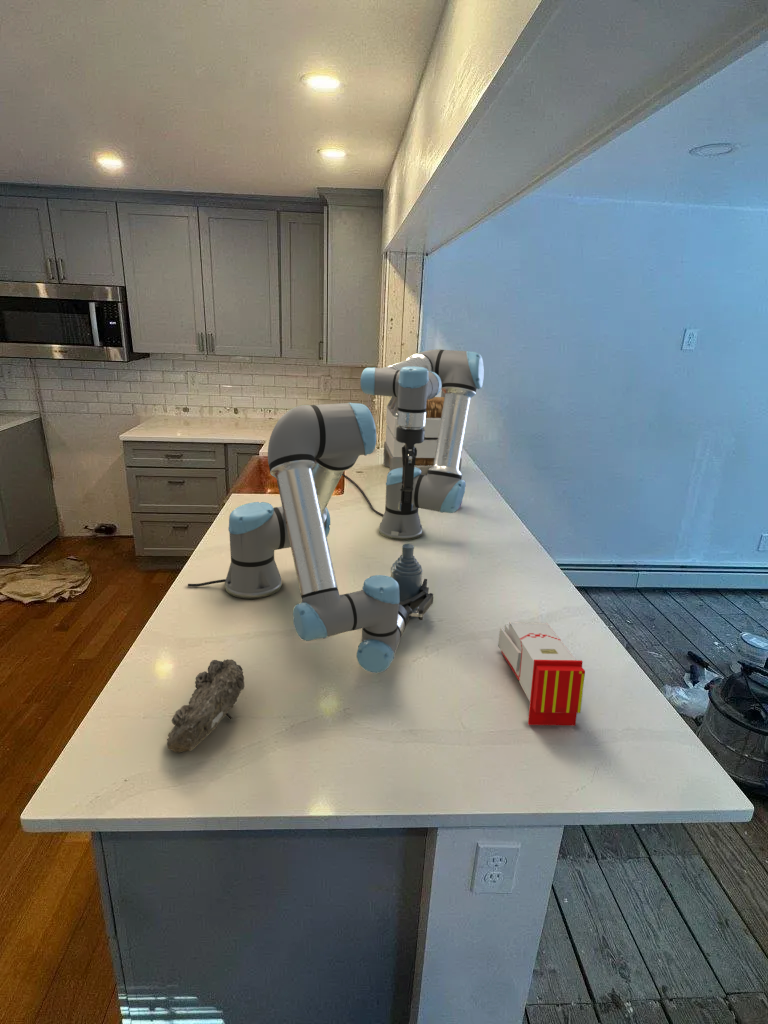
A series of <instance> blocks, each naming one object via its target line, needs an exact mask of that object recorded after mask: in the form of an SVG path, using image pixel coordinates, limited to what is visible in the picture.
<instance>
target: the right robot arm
mask: <svg viewBox="0 0 768 1024" xmlns="http://www.w3.org/2000/svg"><path fill="white" fill-rule="evenodd" d="M484 369H485V368H484V360H483V356H482V355H481V353H479V352H476V351H469V350H452V349H440V348H439V349H437V348H435V349H429V350H423V351H421V352H417V353H414V354H411V355H410V356H408V357H407V358H406V360H402V361H399V362H396V363H393V364H391V365H388V366H383V367H376V366H375V367H374V366H373V367H366V368H364V369H363V370H362V372H361V375H360V389H361V391H362V392H363V393H364V394H365V395H372V396H381V397H390V398H392V397H398V414H395V417H398V418H397V425H398V427H397V428H396V440H397V441H398V442H400V443H405V445H404V446H403V447H402V462H403V463H402V464H403V468H397V469H393V470H391V471H390V470H389V472H388V473H387V475H386V482H385V504H384V505H385V507H384V508H385V509H384V513H381V512H379V511H378V510H376V509H375V508H374V507H373V505H372V503H371V501H370V500H369V498H368V496H367V495H366V494H365V492H364V491H363V489H362V488H361V487H360V486H359V485H358V484H357V483H356V482H355V481H354V480H352V479H351V478H350V477H349V476H347V475H346V474H344V473H343V474H342V476H343V477H344V478H346V479H347V480H348V481H350V482H351V483H352V484H353V485H354V486H355V487H356V488H357V489H358V490H359V491H360V493H361V494H362V496H363V497H364V498H365V500H366V502H367V503H368V505H369V508H371V510H372V511H373V512H374V513H376V514H377V515H380V516H381V517H382V519H381V522H379V526H378V533H379V534H380V535H381V536H382V537H385V538H387V539H389V540H395V541H410V540H415V539H418V538H420V537H421V536H422V535H423V525H422V524H421V518H420V515H419V509H422V510H427V511H433V512H439V513H447V514H453V513H456V512H457V511H458V510H459V509H460V508H459V506H460V504H461V502H462V503H463V499H464V496H465V492H466V486H467V484H466V481H465V480H464V479H462V478H463V473H461V472H462V471H461V472H460V471H459V463H460V457H461V458H462V453H461V451H462V452H463V445H464V438H465V433H466V427H467V421H468V414H469V409H470V403H471V399H472V398H473V397H475V396H476V394H477V390H479V389H480V390H481V389H482V388H483V384H484V378H485V370H484ZM442 391H443V393H444V394H445V398H444V404H443V410H442V416H441V422H440V428H439V434H438V440H437V446H436V452H435V458H434V464H433V466H432V465H431V466H430V467H429V468H428V469H427V473H426V474H424V473H422V469H421V468H419V467H417V466H415V462H416V456H417V450H416V448H415V447H414V445H415V444H419V443H422V442H423V441H424V433H425V430H424V428H423V427H424V426H425V421H426V403H427V400H429V399H432V398H434V397H437V396H438V395H439V394H440V393H441V392H442ZM401 500H402V504H401V511H400V510H399V509H398V507H399V501H401ZM412 502H413V510H412V511H411V504H412ZM461 505H462V504H461ZM458 508H459V509H458Z"/></svg>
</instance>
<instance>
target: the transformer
mask: <svg viewBox="0 0 768 1024" xmlns="http://www.w3.org/2000/svg"><path fill="white" fill-rule="evenodd" d="M440 393H441V394H440V396H435V397H434V398H432V399H429V400H427V403H426V421H425V426H424V427H423V428H424V430H425V433H424V441H423V442H422V443H419V444H415V445H414V447H415V448H416V450H417V456H416V462H415V466H414V467H417V466H418V467H432V466H433V464H434V458H435V452H436V446H437V440H438V434H439V428H440V422H441V416H442V410H443V404H444V398H445V394H444V393H443V391H442V390H441V391H440ZM385 414H386V415H385V423H386V428H385V438H384V442H383V466H384V467H388V468H389V472H390V471H391V470H393V469H397V468H403V464H402V463H403V462H402V447H403V446H404V445H405V443H400V442H398V441H397V440H396V428H397V427H398V425H397V418H398V417H395V414H398V397H390V400H389V402H388V404H387V405H386V413H385ZM462 453H463V450H462V451H461V454H462ZM462 461H463V460H462V456H461V457H460V463H459V471H460V472H462Z"/></svg>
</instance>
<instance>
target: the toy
mask: <svg viewBox="0 0 768 1024" xmlns="http://www.w3.org/2000/svg"><path fill="white" fill-rule="evenodd" d="M498 636H499V637H498V642H497V646H498V647H499V649H500V653H501V654H502V656H503V657H504V659H505V661H506V663H507V664H508V665H509V667H510V669H511V671H512V672H513V674H514V676H515V677H516V679H517V680H518V681H519V684H520V686H521V688H522V690H523V692H524V694H525V696H526V698H527V700H528V701H529V710H528V719H527V724H528V726H573V727H575V726H576V724H577V723H576V722H577V715H578V714H581V710H582V709H581V708H582V701H583V692H584V683H585V674H586V670H585V669H584V668H583V662H584V661H583V660H581V659H580V660H578V659H576V657H575V656H574V655H573V654H572V653H571V651H570V650H569V648H568V647H567V645H565V644H564V642H563V641H562V640H561V638H560V637H559V636H558V635H557V633H556V631H555V630H554V629H553V628H552V627H551V626H550V624H549V622H527V621H526V622H525V621H523V622H521V621H509V624H504V628H503V627H500V628H499V634H498Z"/></svg>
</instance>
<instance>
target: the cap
mask: <svg viewBox="0 0 768 1024" xmlns="http://www.w3.org/2000/svg"><path fill="white" fill-rule="evenodd" d="M401 504H402V500H401V501H399V507H398V509H399V510H400V511H401ZM412 510H413V502H412V504H411V511H412Z"/></svg>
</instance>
